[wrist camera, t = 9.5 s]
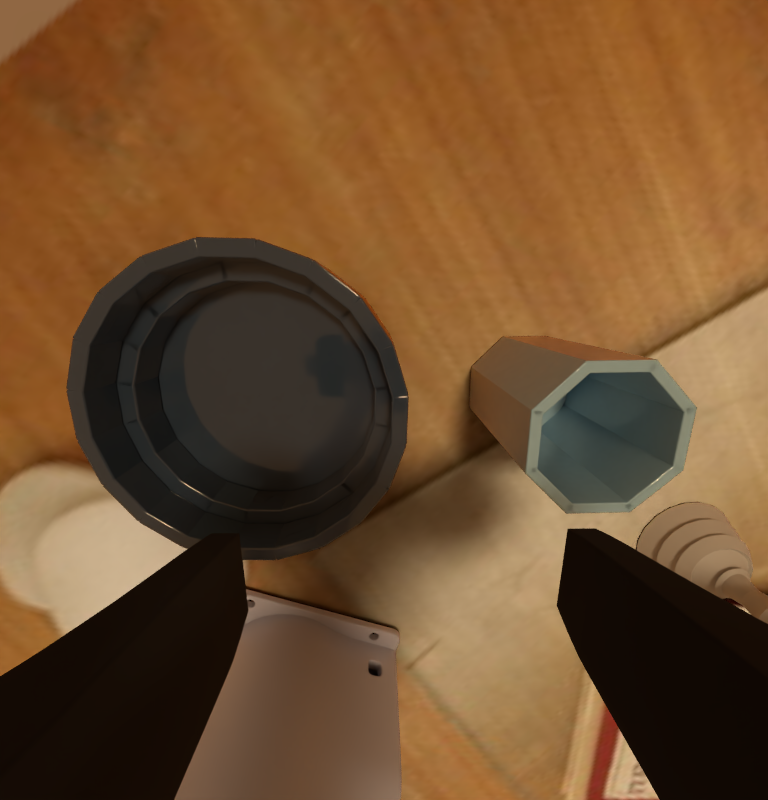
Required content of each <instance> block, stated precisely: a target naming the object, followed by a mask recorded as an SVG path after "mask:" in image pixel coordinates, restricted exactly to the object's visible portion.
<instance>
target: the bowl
mask: <svg viewBox="0 0 768 800" xmlns="http://www.w3.org/2000/svg"><path fill="white" fill-rule="evenodd" d="M73 338H74V339H73V342H72V349H71V357H70V365H69V373H68V380H67V389H68V390H67V396H68V401H69V405H70V410H71V415H72V419H73V424H74V429H75V434H76V438H77V440H78V443H79V445H80V447H81V449H82V450H83V452H84V454H85V456H86V457H87V459H88V461H89V463H90V465H91V466H92V468H93V470H94V472H95V473H96V475H97V477H98V479H99V481H100V482H101V484H102V485H103V487H104V488H105V489H106V490H107V491H108V492H109V493H110V494H111V495H112V496H113V497H114V498H115V499H116V500H117V501H118V502H119V503H120V504H121V505H122V506H123V507H124V508H125V509H126V510H127V511H128V512H129V513H130V514H131V515H132V516H133V517H134V518H135V519H136V520H137V521H139V522H140V523H141V524H143V525H145V526H147V527H148V528H150V529H152V530H154V531H155V532H157V533H159V534H161V535H162V536H164V537H166V538H167V539H169V540H171V541H173V542H174V543H176V544H178V545H180V546H182V547H184V548H187V549H189V548H190V547H191V546H193V545H194V544H196V543H197V542H199V541H200V540H202V539H203V538H205V537H206V536H208V535H209V534H211V533H239V536H240V544H241V552H242V560H276V559H277V560H279V559H283V558H286V557H290V556H294V555H298V554H301V553H305V552H309V551H312V550H316V549H320V548H321V547H324V546H325V545H327V544H329V543H330V542H332V541H333V540H335V539H337V538H338V537H340V536H341V535H343V534H345V533H346V532H348V531H349V530H351V529H353V528H354V527H356V526H357V525H359V524H360V523H361V522H362V521H363V520H364V519H365V518H366V516H367V515H368V514H369V513H370V512H371V510H372V509H373V508H374V507H375V506H376V504H377V503H378V502H379V501H380V500H381V499H382V497H383V496H384V495H385V494H386V493H387V491H388V490H389V488H390V486H391V484H392V481H393V479H394V476H395V473H396V471H397V468H398V466H399V463H400V461H401V458H402V455H403V453H404V450H405V448H406V443H407V423H408V398H409V397H408V391H407V388H406V385H405V381H404V378H403V374H402V371H401V368H400V364H399V361H398V357H397V354H396V350H395V347H394V344H393V341H392V338H391V336H390V333H389V332H388V331H387V329H386V328H385V326H384V325H383V323H382V322H381V320H380V319H379V317H378V316H377V314H376V313H375V312H374V310H373V309H372V307H371V306H370V304H369V303H368V301H367V300H366V298H364V296H362V295H361V294H360V293H359V292H357V291H356V290H355V289H353V288H352V287H351V286H350V285H348V284H347V283H346V282H344V281H343V280H342V279H341V278H339V277H338V276H337V275H335V274H334V273H333V272H332V271H330V270H329V269H327V268H326V267H324V266H323V265H321V264H320V263H318V262H316V261H315V260H313V259H311V258H308V257H305V256H302V255H300V254H297V253H294V252H291V251H289V250H286V249H283V248H280V247H278V246H275V245H272V244H269V243H267V242H264V241H261V240H256V239H253V238H213V237H196V238H192V239H189V240H186V241H183V242H180V243H177V244H174V245H171V246H168V247H165V248H162V249H159V250H156V251H153V252H150V253H147V254H144V255H142V257H139V258H137V259H136V260H135V261H134V262H133V263H131V264H130V265H129V266H128V267H127V268H125V269H124V270H123V271H122V272H121V273H119V274H118V275H117V276H116V277H115V278H113V279H112V280H111V281H110V282H109V283H107V284H106V285H105V286H104V287H103V288H101V289H100V290H99V292H97V294H96V296H95V297H94V299H93V301H92V303H91V305H90V307H89V309H88V310H87V312H86V314H85V316H84V318H83V320H82V322H81V323H80V325H79V327H78V329H77V331H76V333H75V335H74V336H73Z"/></svg>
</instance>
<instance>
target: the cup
mask: <svg viewBox="0 0 768 800" xmlns="http://www.w3.org/2000/svg"><path fill="white" fill-rule="evenodd" d="M469 407H470V409H471V410H472V411H473V412H474V413H475V415H476V416H477V417H478V418H479V419H480V420H481V422H482V423H483V424H484V425H485V426H486V428H487V429H488V430H489V431H490V432H491V433H492V435H493V436H494V437H495V438H496V439H497V441H498V442H499V443H500V444H501V445H502V446H503V448H504V449H505V450H506V451H507V452H508V454H509V455H510V456H511V457H512V458H513V459H514V461H515V462H516V463H517V464H518V465H519V467H520V468H521V469H522V470H523V471H524V472H525V474H526V475H527V476H528V477H529V478H530V479H532V480H533V481H534V482H535V483H536V484H537V485H538V486H539V487H540V488H541V489H542V490H543V491H544V492H545V493H546V494H547V495H548V496H549V497H550V498H551V499H552V500H553V501H554V502H555V503H556V504H557V505H558V506H559V507H560V508H561V509H562V510H563V511H564V512H565V513H567V514H569V513H618V512H631V511H632V510H633V509H635V508H636V507H637V506H638V505H640V504H641V503H642V502H644V501H645V500H646V499H647V498H649V497H650V496H651V495H653V494H654V493H655V492H656V491H658V490H659V489H660V488H661V487H663V486H664V485H665V484H667V483H668V482H669V481H670V480H672V479H673V478H674V477H675V476H677V475H678V474H679V473H681V472H682V471H683V469H684V465H685V460H686V456H687V451H688V446H689V442H690V437H691V433H692V428H693V423H694V419H695V414H696V410H697V407H696V406H695V405H694V403H693V402H692V401H691V400H690V399H689V397H688V396H687V395H686V394H685V393H684V391H683V390H682V389H681V388H680V387H679V385H678V384H677V383H676V382H675V381H674V379H673V378H672V377H671V376H670V375H669V373H668V372H667V371H666V370H665V369H664V367H663V366H662V365H661V364H660V363H659V361H658V360H656V359H652V358H647V357H642V356H638V355H633V354H628V353H623V352H619V351H614V350H609V349H605V348H600V347H595V346H591V345H586V344H581V343H576V342H572V341H567V340H562V339H558V338H553V337H548V336H506V337H502V338H501V339H500V340H499V341H498V342H497V343H496V344H495V345H494V346H493V347H492V348H491V349H490V350H489V351H487V352H486V353H485V354H484V355H483V356H482V357H481V358H480V359H479V360H478V361H477V362H476V363H475V364H474V365H473V366H472V367H471V384H470V405H469Z"/></svg>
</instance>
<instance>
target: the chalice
mask: <svg viewBox="0 0 768 800" xmlns="http://www.w3.org/2000/svg"><path fill="white" fill-rule="evenodd" d="M637 551H639V552H640V553H642V554H644V555H646V556H647V557H649V558H651V559H653V560H654V561H656V562H658V563H660V564H661V565H663V566H665V567H667V568H668V569H670V570H672V571H673V572H675V573H677V574H679V575H680V576H682V577H684V578H686V579H687V580H689V581H691V582H693V583H694V584H696V585H698V586H700V587H702V588H703V589H705V590H707V591H709V592H710V593H712V594H714V595H716V596H718V597H719V598H721V599H724V598H732V599H733V600H735V601H737V602H738V603H740V604H742V605H743V606H744V607H745V608H746V609H747V610H748V612H749V613H750V614H751V615H752V616H754V617H756V618H758V619H760V620H761V621H763V622H765V623H767V624H768V596H767V595H765V594H763V593H761V592H759V590H758V589H757V588H756V587H755V586H754V585H753V584H752V583H751V582H750V578H751V576H752V572H753V565H752V559H751V555H750V551H749V549H748V547H747V546H746V544H745V543H744V542H743V541H741V539H740V537H739V535H738V533H737V532H736V530H735V529H734V528H733V527H731V525H730V523H729V521H728V519H727V518H726V516H725V514H724V513H723V512H721V511H720V510H718V509H717V508H716V507H714V506H712V505H708V504H704V503H700V502H697V503H683V504H680V505H677V506H674V507H671V508H669V509H667V510H665V511H664V512H662V513H661V514H659V515H657V516H656V517H655V518H654V519H653V520H652V521H651V522H650V523H649V524H648V525H647V526H646V527H645V529H644V531H643V532H642V534H641V536H640V538H639V540H638V545H637Z"/></svg>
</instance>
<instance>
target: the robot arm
mask: <svg viewBox="0 0 768 800" xmlns="http://www.w3.org/2000/svg"><path fill="white" fill-rule="evenodd" d="M249 600H253V601H254V602H251V601H249ZM557 607H558V610H559V612H560V615H561V617H562V619H563V622H564V624H565V627H566V629H567V632H568V634H569V636H570V638H571V641H572V643H573V645H574V647H575V650H576V652H577V654H578V656H579V658H580V660H581V662H582V663H583V665H584V667H585V669H586V671H587V673H588V674H589V676H590V678H591V680H592V681H593V683H594V685H595V687H596V689H597V690H598V692H599V694H600V696H601V698H602V699H603V701H604V703H605V705H606V706H607V708H608V710H609V712H610V713H611V715H612V717H613V719H614V720H615V722H616V724H617V726H618V727H619V729H620V731H621V733H622V734H623V736H624V738H625V740H626V741H627V743H628V745H629V747H630V748H631V750H632V752H633V754H634V755H635V757H636V759H637V761H638V762H639V764H640V766H641V768H642V769H643V771H644V773H645V775H646V776H647V778H648V780H649V782H650V783H651V785H652V787H653V789H654V790H655V792H656V794H657V796H658V798H659V799H660V800H768V624H767V623H765V622H763V621H761V620H760V619H758V618H756V617H754V616H752V615H750V614H748V613H747V612H745V611H743V610H741V609H739V608H737V607H736V606H734V605H732V604H730V603H728V602H727V601H725V600H723V599H721V598H719V597H718V596H716V595H714V594H712V593H710V592H709V591H707V590H705V589H703V588H702V587H700V586H698V585H696V584H694V583H693V582H691V581H689V580H687V579H686V578H684V577H682V576H680V575H679V574H677V573H675V572H673V571H672V570H670V569H668V568H667V567H665V566H663V565H661V564H660V563H658V562H656V561H654V560H653V559H651V558H649V557H647V556H646V555H644V554H642V553H640V552H639V551H637V550H635V549H633V548H632V547H630V546H628V545H626V544H624V543H623V542H621V541H619V540H617V539H615V538H613V537H611V536H610V535H608V534H606V533H604V532H602V531H599V530H597V529H568V531H567V538H566V545H565V552H564V559H563V566H562V573H561V580H560V587H559V594H558V601H557ZM372 633H376V634H372ZM399 642H400V635H399V632H398V631H397V630H395V629H393V628H389V627H385V626H382V625H378V624H374V623H370V622H367V621H363V620H359V619H356V618H352V617H348V616H344V615H341V614H337V613H333V612H329V611H326V610H322V609H318V608H315V607H311V606H307V605H303V604H300V603H296V602H292V601H289V600H285V599H281V598H277V597H274V596H270V595H266V594H262V593H259V592H255V591H251V590H248V589H246V585H245V577H244V569H243V561H242V552H241V544H240V536H239V533H211V534H209V535H208V536H206V537H205V538H203V539H202V540H200V541H199V542H197V543H196V544H194V545H193V546H191V547H190V548H189V549H187V550H186V551H184V552H183V553H182V554H180V555H179V556H177V557H176V558H175V559H173V560H172V561H171V562H169V563H168V564H166V565H165V566H164V567H162V568H161V569H160V570H158V571H157V572H155V573H154V574H153V575H151V576H150V577H148V578H147V579H146V580H144V581H143V582H141V583H140V584H139V585H137V586H136V587H134V588H133V589H132V590H130V591H129V592H127V593H126V594H125V595H123V596H122V597H120V598H119V599H118V600H116V601H115V602H113V603H112V604H110V605H109V606H107V607H106V608H104V609H103V610H101V611H100V612H98V613H97V614H95V615H94V616H92V617H91V618H89V619H88V620H86V621H85V622H83V623H82V624H81V625H79V626H78V627H76V628H75V629H73V630H72V631H70V632H69V633H67V634H66V635H64V636H63V637H61V638H60V639H58V640H57V641H55V642H54V643H52V644H51V645H49V646H48V647H46V648H45V649H43V650H42V651H40V652H38V653H37V654H35V655H34V656H32V657H31V658H29V659H27V660H26V661H24V662H23V663H21V664H20V665H18V666H16V667H15V668H13V669H11V670H10V671H8V672H7V673H5V674H3V675H2V676H0V800H401V753H400V732H399V711H398V690H397V669H396V649H397V647H398V644H399Z"/></svg>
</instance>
